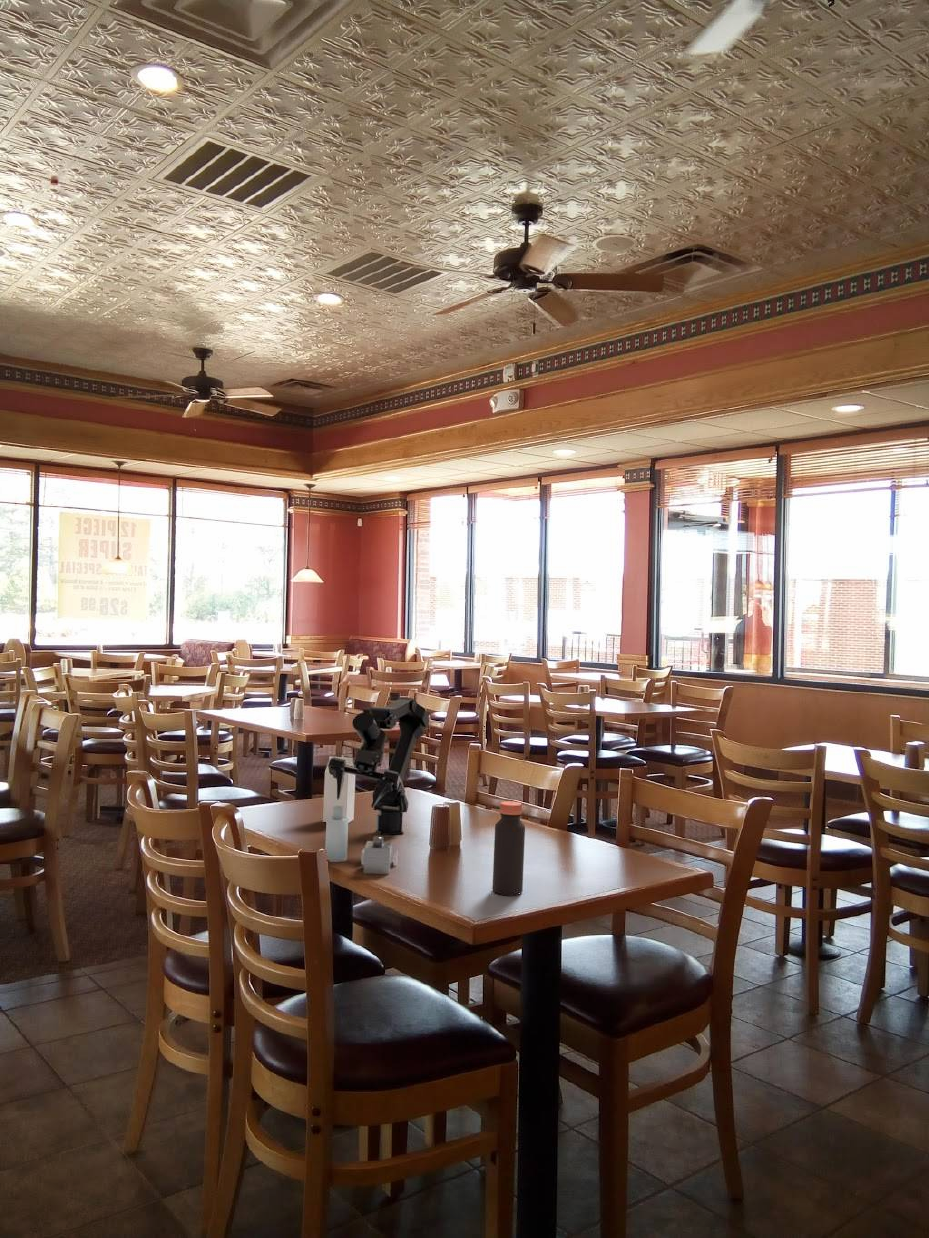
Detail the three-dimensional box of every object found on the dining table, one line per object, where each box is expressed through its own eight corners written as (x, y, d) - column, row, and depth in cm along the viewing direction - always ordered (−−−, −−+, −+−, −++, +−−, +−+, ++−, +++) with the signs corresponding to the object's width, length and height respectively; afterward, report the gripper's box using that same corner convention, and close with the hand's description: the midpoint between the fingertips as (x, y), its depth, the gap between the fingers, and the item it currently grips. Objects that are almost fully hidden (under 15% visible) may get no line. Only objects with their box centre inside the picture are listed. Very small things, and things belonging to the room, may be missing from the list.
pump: (344, 855, 241) (346, 804, 241) (348, 861, 236) (350, 808, 236) (323, 856, 239) (325, 804, 239) (326, 862, 234) (329, 809, 234)
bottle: (518, 887, 219) (522, 800, 219) (525, 896, 212) (529, 806, 212) (489, 887, 218) (493, 800, 218) (495, 896, 211) (499, 806, 211)
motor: (362, 860, 237) (364, 828, 237) (397, 861, 237) (398, 829, 237) (357, 872, 225) (359, 839, 225) (394, 874, 225) (395, 840, 225)
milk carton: (345, 825, 276) (348, 759, 276) (322, 823, 277) (325, 757, 277) (353, 820, 283) (356, 756, 283) (330, 818, 284) (333, 754, 284)
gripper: (336, 728, 249) (317, 782, 240) (405, 744, 247) (389, 799, 239) (338, 746, 258) (321, 799, 250) (405, 762, 257) (390, 815, 248)
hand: (354, 803), depth 246 cm, fingers open, 9 cm apart
